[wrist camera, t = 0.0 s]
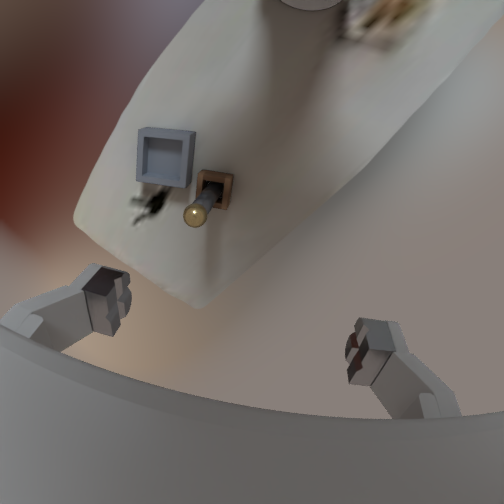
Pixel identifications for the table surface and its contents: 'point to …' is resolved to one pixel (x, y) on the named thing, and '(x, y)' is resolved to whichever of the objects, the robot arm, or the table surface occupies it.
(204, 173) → the collar
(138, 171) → the tray
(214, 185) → the pin
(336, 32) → the table surface
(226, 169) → the table surface
